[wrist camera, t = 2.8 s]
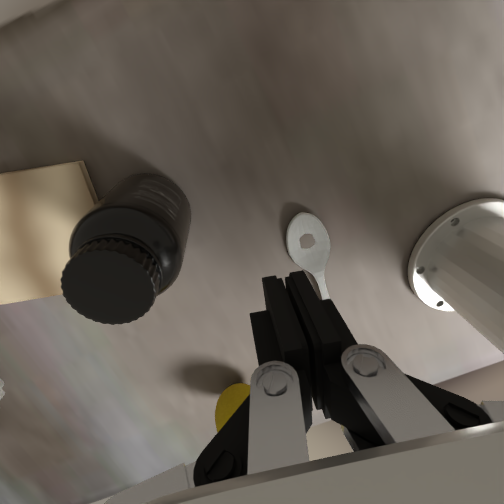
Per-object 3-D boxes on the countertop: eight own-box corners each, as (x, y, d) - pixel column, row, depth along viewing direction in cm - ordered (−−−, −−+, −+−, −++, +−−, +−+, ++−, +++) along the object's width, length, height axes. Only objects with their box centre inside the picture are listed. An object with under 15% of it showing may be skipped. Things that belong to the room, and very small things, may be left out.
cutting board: (83, 160, 24) (78, 162, 23) (127, 278, 29) (125, 283, 28) (-73, 184, 24) (-84, 187, 23) (0, 299, 29) (-7, 305, 28)
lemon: (260, 398, 39) (270, 465, 32) (216, 402, 38) (216, 471, 31) (261, 366, 36) (272, 432, 29) (214, 369, 36) (213, 437, 29)
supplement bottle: (93, 193, 25) (2, 262, 15) (166, 157, 25) (127, 203, 14) (139, 259, 28) (93, 355, 18) (205, 229, 28) (199, 310, 17)
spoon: (317, 199, 28) (322, 205, 27) (359, 351, 37) (365, 361, 36) (274, 216, 28) (277, 222, 27) (327, 362, 38) (331, 373, 36)
